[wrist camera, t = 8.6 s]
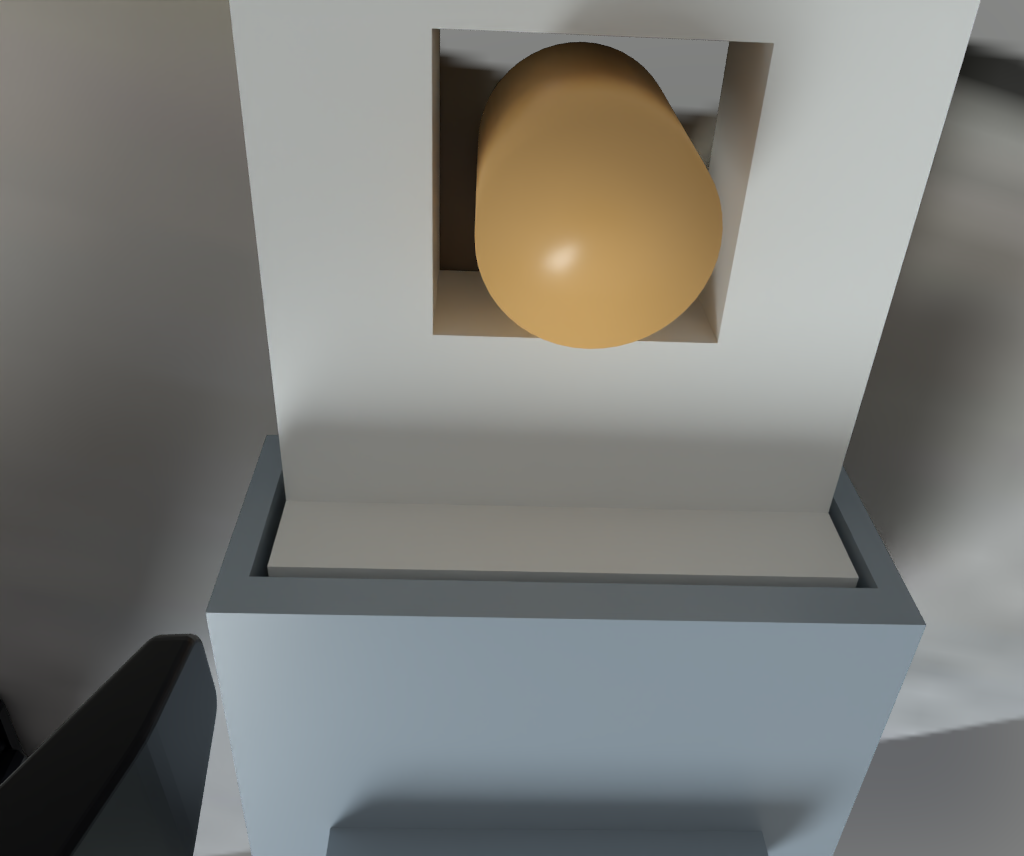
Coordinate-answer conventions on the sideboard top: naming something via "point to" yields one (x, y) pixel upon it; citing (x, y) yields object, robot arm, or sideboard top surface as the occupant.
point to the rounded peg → (590, 200)
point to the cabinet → (552, 705)
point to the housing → (565, 370)
